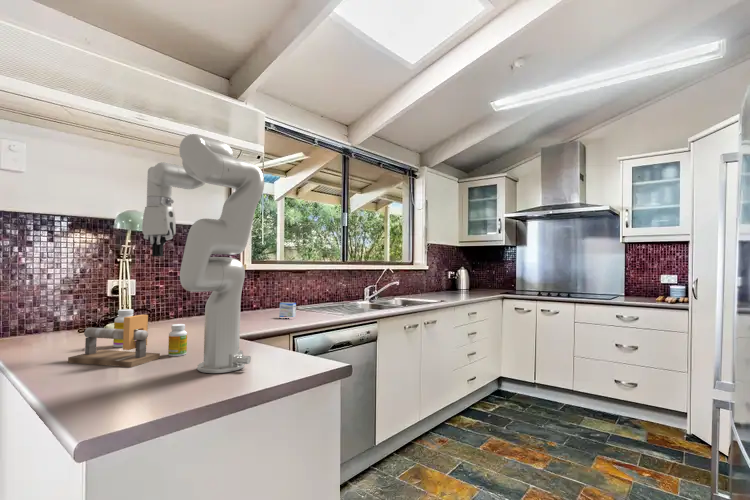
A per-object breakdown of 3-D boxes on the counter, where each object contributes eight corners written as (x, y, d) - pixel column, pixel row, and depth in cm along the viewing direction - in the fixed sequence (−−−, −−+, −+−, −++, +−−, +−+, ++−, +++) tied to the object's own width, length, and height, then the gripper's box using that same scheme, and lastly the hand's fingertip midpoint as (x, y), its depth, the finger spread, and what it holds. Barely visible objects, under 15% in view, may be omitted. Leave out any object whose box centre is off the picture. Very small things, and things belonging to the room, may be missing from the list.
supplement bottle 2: (181, 356, 126) (182, 326, 126) (164, 356, 126) (165, 325, 126) (189, 353, 131) (190, 323, 131) (173, 352, 131) (174, 323, 132)
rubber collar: (147, 345, 122) (148, 314, 123) (128, 350, 115) (129, 317, 116) (141, 344, 123) (142, 314, 123) (122, 349, 116) (124, 317, 116)
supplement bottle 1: (124, 348, 137) (125, 311, 137) (108, 347, 138) (109, 310, 139) (139, 344, 143) (140, 309, 144) (124, 343, 145) (125, 308, 145)
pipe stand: (159, 358, 123) (160, 327, 124) (131, 367, 113) (132, 333, 113) (100, 354, 128) (101, 324, 128) (68, 362, 117) (69, 329, 117)
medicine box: (279, 319, 213) (279, 302, 214) (282, 317, 218) (282, 302, 218) (292, 319, 212) (293, 303, 212) (295, 318, 216) (296, 302, 217)
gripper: (185, 204, 139) (184, 256, 138) (148, 205, 142) (147, 256, 141) (170, 201, 131) (168, 256, 131) (131, 202, 134) (130, 255, 134)
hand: (157, 256), depth 136 cm, fingers closed
